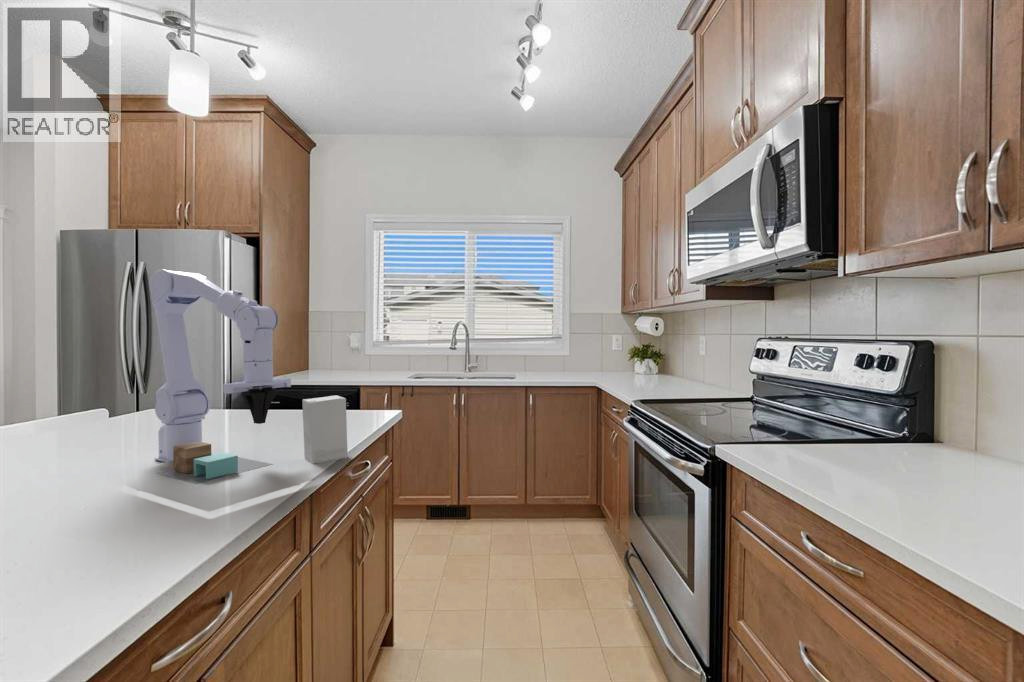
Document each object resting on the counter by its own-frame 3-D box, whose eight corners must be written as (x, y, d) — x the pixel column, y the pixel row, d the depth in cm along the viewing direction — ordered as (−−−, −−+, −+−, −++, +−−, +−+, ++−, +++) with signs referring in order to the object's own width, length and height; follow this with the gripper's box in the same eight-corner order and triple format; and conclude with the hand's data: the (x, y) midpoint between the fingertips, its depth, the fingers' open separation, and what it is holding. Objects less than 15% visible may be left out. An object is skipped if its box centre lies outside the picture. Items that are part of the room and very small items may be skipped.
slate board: (156, 477, 103) (155, 460, 103) (232, 460, 117) (232, 445, 117) (196, 489, 96) (196, 470, 96) (273, 468, 110) (272, 452, 109)
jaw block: (173, 470, 105) (173, 446, 104) (198, 464, 109) (198, 441, 109) (186, 473, 102) (186, 448, 102) (211, 467, 106) (211, 444, 106)
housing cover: (194, 475, 101) (193, 459, 100) (223, 468, 106) (223, 452, 106) (208, 479, 98) (207, 462, 98) (238, 471, 103) (237, 455, 103)
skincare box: (339, 457, 119) (338, 394, 119) (348, 462, 115) (347, 397, 114) (302, 463, 114) (301, 397, 114) (311, 468, 109) (310, 400, 109)
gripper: (236, 363, 101) (238, 430, 102) (299, 359, 114) (300, 419, 114) (216, 362, 105) (218, 427, 105) (279, 358, 117) (280, 416, 118)
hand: (259, 423), depth 110 cm, fingers closed
